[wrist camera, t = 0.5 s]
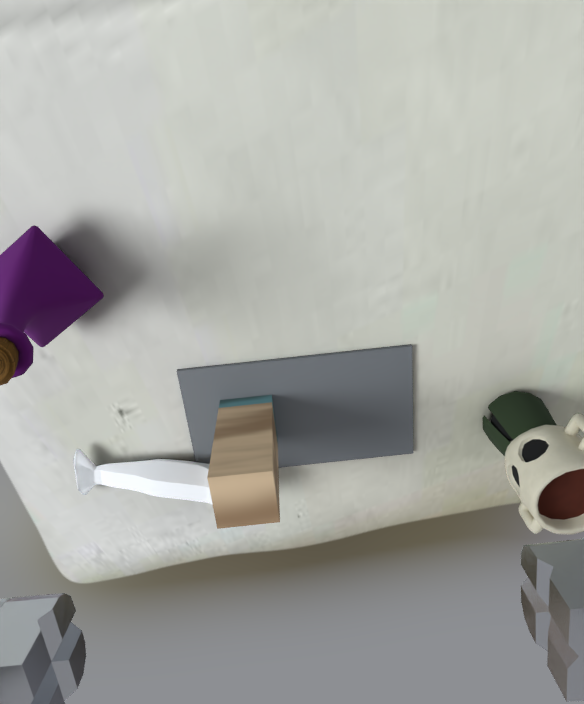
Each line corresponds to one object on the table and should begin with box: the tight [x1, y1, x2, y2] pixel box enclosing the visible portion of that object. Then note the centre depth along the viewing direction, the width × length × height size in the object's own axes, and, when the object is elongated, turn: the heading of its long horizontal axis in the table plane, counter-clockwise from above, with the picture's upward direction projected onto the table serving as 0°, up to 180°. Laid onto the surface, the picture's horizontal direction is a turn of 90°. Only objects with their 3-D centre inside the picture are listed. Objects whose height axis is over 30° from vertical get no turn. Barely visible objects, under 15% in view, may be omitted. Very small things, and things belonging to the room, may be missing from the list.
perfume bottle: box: [0, 226, 104, 385], centre depth 40 cm, size 8×8×18 cm
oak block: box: [207, 395, 280, 528], centre depth 49 cm, size 5×5×12 cm
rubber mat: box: [177, 345, 413, 468], centre depth 54 cm, size 12×22×1 cm, turn 96°
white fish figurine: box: [73, 449, 212, 504], centre depth 55 cm, size 6×18×4 cm, turn 87°
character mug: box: [483, 391, 584, 535], centre depth 50 cm, size 11×7×13 cm, turn 163°
